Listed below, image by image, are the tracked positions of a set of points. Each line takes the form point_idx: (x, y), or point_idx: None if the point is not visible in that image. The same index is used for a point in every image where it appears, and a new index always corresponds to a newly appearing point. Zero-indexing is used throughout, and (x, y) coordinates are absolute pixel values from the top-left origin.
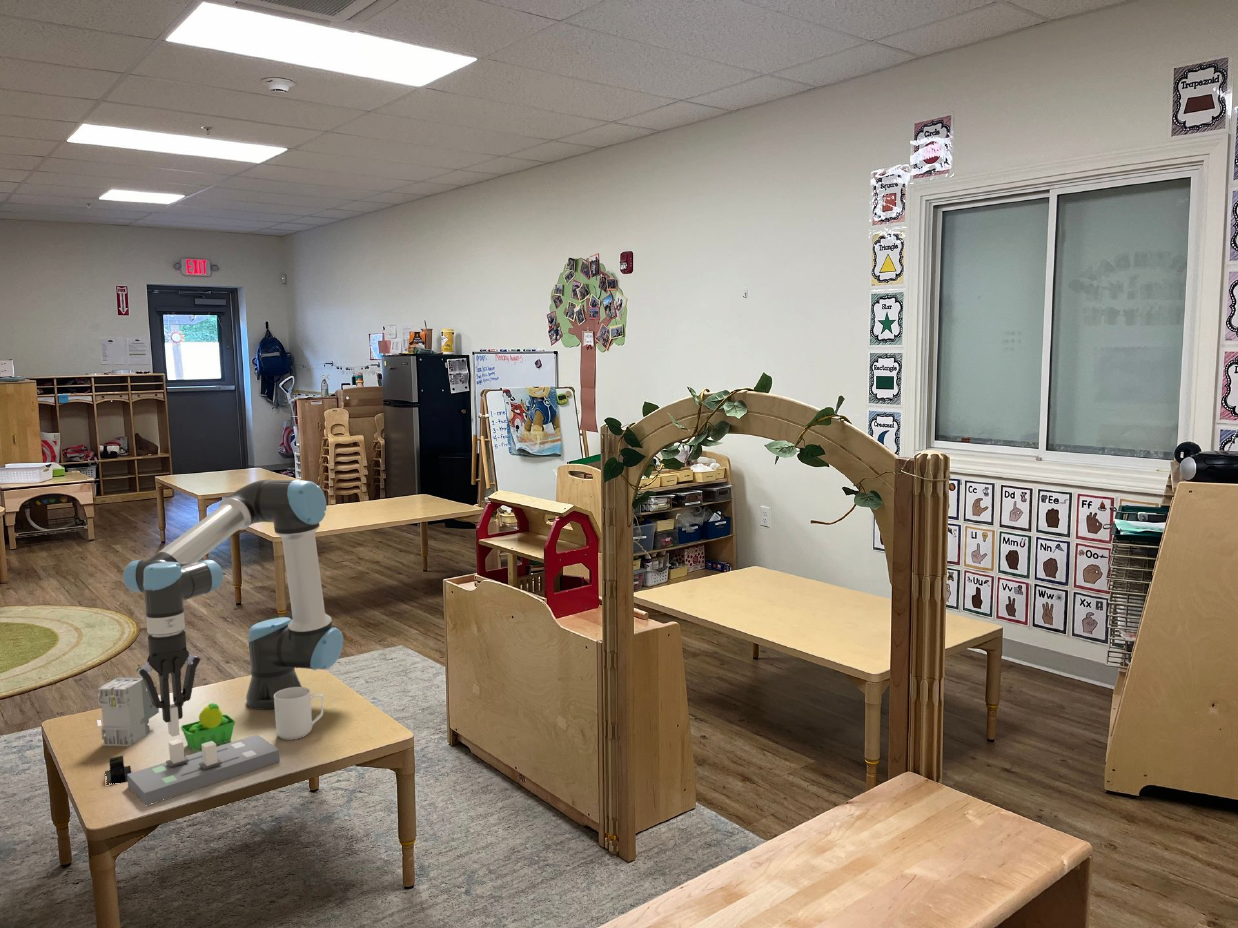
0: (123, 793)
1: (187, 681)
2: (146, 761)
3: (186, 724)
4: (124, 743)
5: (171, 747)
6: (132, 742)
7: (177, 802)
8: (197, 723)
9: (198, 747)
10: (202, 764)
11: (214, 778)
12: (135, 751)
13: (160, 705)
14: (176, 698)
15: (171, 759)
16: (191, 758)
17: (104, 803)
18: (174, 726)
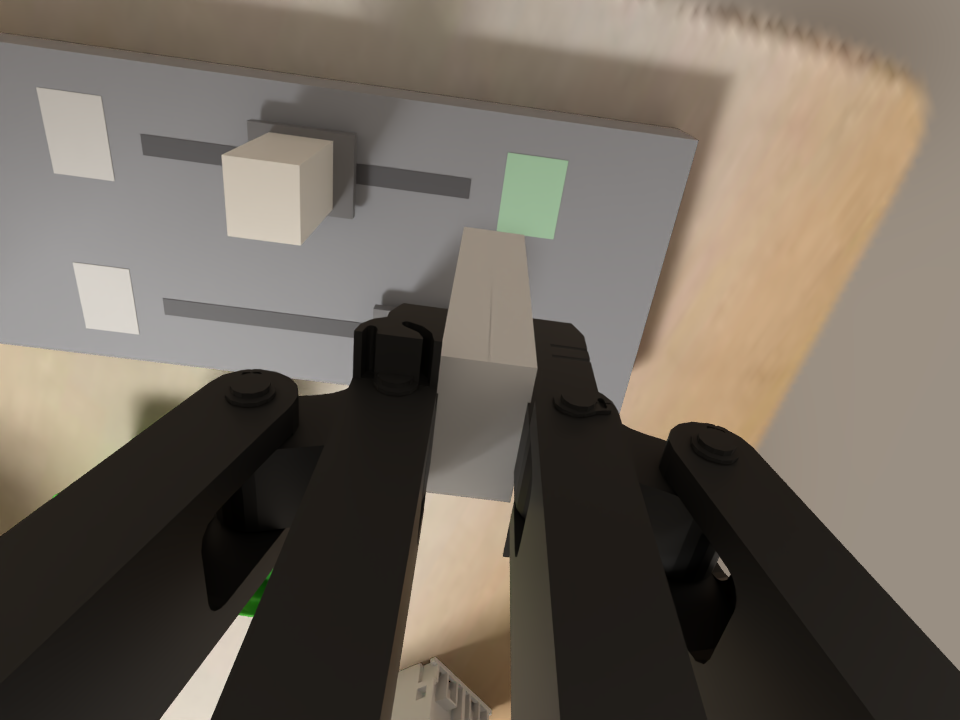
0: (655, 341)
1: (49, 674)
2: (453, 524)
3: (249, 614)
4: (445, 676)
5: None
6: (421, 668)
7: (567, 19)
8: None
9: None
10: (344, 184)
11: (328, 81)
12: (442, 613)
13: (681, 442)
14: (429, 438)
15: None
16: (346, 341)
17: (752, 315)
18: (501, 263)
